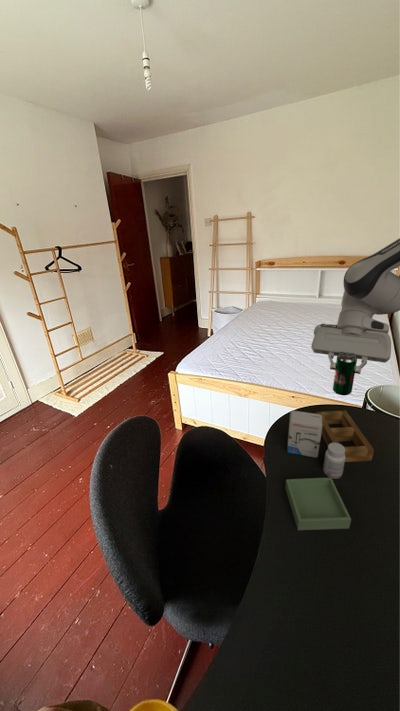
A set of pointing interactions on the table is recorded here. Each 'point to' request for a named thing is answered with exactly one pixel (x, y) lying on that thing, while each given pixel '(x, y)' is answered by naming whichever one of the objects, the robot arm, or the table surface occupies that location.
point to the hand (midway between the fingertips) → (345, 371)
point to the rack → (346, 435)
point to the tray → (316, 504)
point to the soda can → (344, 373)
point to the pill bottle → (334, 460)
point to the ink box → (304, 433)
